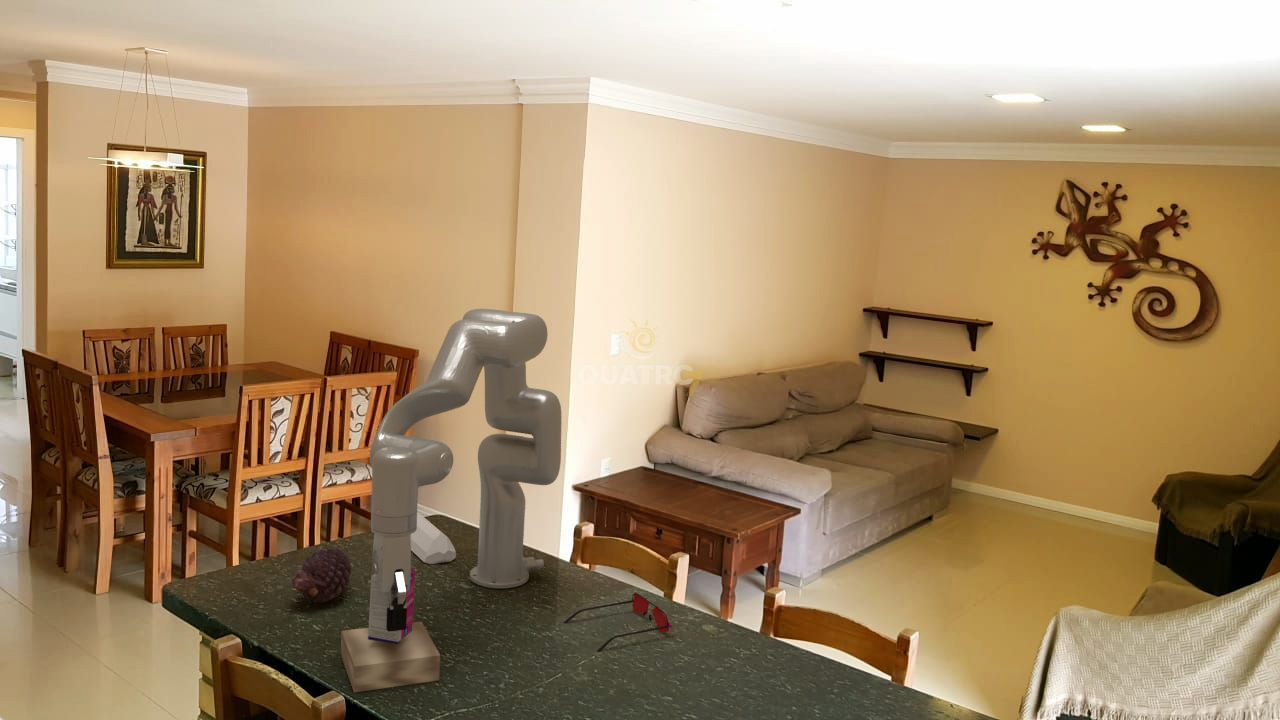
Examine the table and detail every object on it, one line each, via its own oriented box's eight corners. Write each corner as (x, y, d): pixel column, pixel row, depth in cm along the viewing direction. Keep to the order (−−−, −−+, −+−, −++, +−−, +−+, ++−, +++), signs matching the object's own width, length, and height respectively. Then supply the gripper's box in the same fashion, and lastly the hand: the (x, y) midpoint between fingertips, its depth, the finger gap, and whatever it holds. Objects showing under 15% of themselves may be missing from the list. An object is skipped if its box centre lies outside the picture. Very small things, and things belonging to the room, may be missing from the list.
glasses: (672, 638, 191) (674, 614, 190) (597, 654, 183) (599, 628, 182) (635, 611, 203) (636, 588, 202) (562, 624, 194) (564, 600, 194)
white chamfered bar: (468, 546, 222) (429, 514, 242) (442, 534, 218) (404, 502, 238) (451, 576, 221) (413, 541, 241) (424, 564, 217) (388, 530, 237)
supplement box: (399, 645, 167) (401, 580, 165) (366, 640, 168) (368, 575, 166) (414, 631, 173) (416, 568, 171) (382, 626, 174) (384, 563, 172)
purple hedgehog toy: (325, 578, 207) (326, 532, 206) (369, 585, 206) (371, 539, 204) (279, 611, 190) (280, 561, 189) (327, 618, 189) (328, 568, 187)
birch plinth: (420, 645, 180) (421, 621, 180) (439, 680, 168) (440, 655, 167) (340, 655, 174) (341, 630, 174) (354, 692, 162) (354, 666, 161)
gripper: (362, 506, 173) (360, 602, 176) (381, 540, 158) (378, 644, 161) (405, 503, 177) (402, 597, 179) (428, 536, 161) (424, 638, 164)
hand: (391, 619), depth 170 cm, fingers closed on supplement box, 7 cm apart
